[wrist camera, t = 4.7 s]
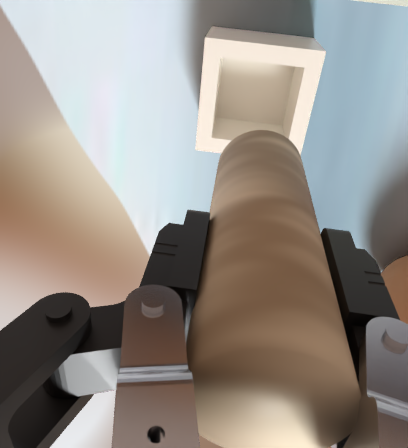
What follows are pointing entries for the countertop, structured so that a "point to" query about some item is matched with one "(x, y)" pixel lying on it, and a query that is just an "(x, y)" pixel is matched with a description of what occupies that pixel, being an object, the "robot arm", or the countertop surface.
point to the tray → (388, 2)
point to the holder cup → (256, 85)
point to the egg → (398, 285)
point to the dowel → (268, 310)
